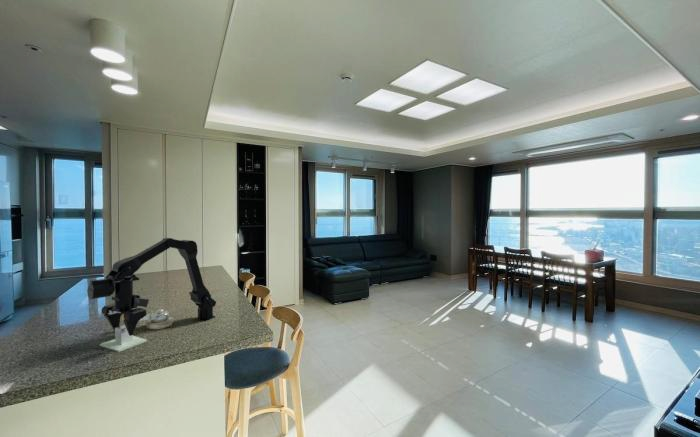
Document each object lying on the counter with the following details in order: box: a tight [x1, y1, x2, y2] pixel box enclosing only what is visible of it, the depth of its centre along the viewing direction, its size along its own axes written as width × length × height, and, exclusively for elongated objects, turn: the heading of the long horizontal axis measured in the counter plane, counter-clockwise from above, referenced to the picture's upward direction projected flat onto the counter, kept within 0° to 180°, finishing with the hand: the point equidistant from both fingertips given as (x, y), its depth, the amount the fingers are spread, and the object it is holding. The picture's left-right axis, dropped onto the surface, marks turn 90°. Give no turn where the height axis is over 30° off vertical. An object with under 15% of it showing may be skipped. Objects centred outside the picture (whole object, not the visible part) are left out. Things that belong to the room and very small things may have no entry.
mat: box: [99, 335, 148, 353], centre depth 113 cm, size 12×10×1 cm
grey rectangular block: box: [114, 324, 134, 345], centre depth 113 cm, size 4×4×6 cm
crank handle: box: [121, 308, 170, 324], centre depth 130 cm, size 17×7×5 cm, turn 119°
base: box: [146, 316, 174, 330], centre depth 132 cm, size 10×10×2 cm
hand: (123, 333), depth 113 cm, fingers open, 9 cm apart
